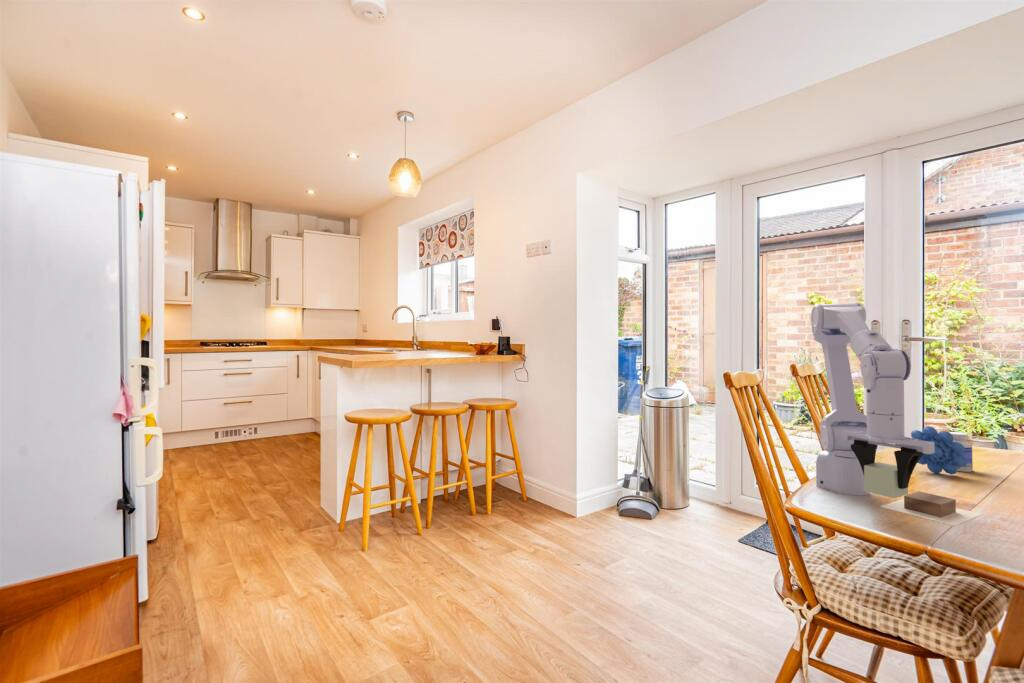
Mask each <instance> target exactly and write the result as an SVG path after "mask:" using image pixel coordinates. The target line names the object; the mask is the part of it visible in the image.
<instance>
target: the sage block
mask: <svg viewBox="0 0 1024 683" xmlns="http://www.w3.org/2000/svg"><path fill="white" fill-rule="evenodd" d="M897 479H898V470H897V464H896V465H895V464H891V463H884V462H880V461H875V463H872V464H868V465H864V491H866V492H868V493H872V494H874V495H880V496H883V497H888V498H890V499H896V498H899V497H900V498H901V497H904V496H905V495H909V487H908V488H905V489H900V488H898V482H897Z"/></svg>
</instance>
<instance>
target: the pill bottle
mask: <svg viewBox="0 0 1024 683" xmlns="http://www.w3.org/2000/svg"><path fill="white" fill-rule="evenodd" d="M948 432H949V433H950V434H952V436H953V438H954V440H953V442H958V443H961V444H962V445H963V446H964V447H965V452H964V454H960V455H961V456H963V457H964V458H965V459H966V461H967V464H966V466H964V467H959V466H956V465H955V466H956V467H957V469H958V471H957V472H963V473H971V472H973V468H974V467H973V464H974V463H973V444H972V443H971V442H970V441H968V440H969V434H968V433H965V432H962V431H961V432H960V431H948Z"/></svg>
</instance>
